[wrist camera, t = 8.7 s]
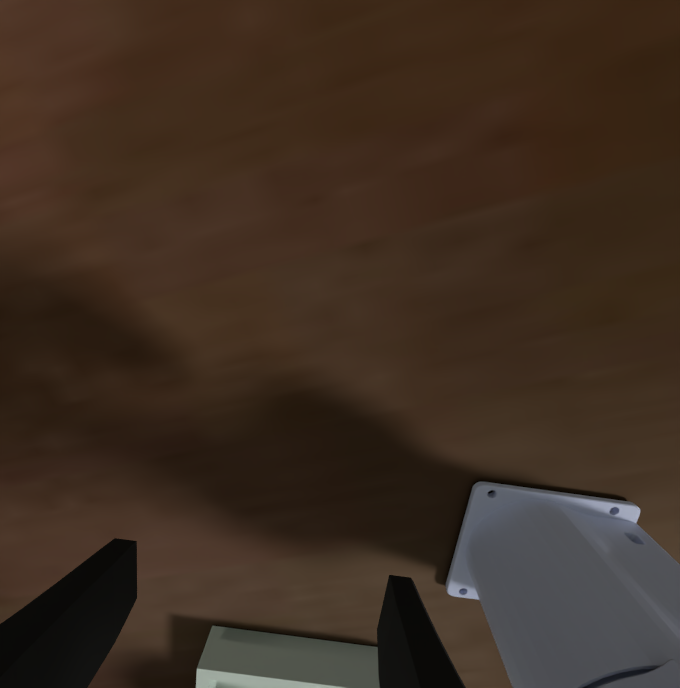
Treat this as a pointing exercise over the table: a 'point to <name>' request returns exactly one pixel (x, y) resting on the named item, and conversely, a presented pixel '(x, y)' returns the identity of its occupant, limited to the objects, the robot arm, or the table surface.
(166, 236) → the table surface
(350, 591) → the table surface
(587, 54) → the table surface
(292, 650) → the tray
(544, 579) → the robot arm
